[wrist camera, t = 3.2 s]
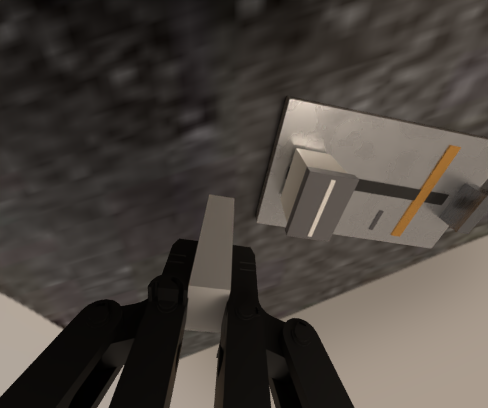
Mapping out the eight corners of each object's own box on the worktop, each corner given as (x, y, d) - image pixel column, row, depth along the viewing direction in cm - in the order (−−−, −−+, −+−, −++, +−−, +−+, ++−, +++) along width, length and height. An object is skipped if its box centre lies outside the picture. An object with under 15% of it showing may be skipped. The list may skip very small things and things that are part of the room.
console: (286, 95, 20) (296, 104, 16) (498, 139, 22) (544, 155, 18) (255, 214, 26) (257, 238, 22) (422, 239, 28) (446, 264, 25)
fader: (294, 145, 20) (310, 172, 15) (333, 152, 20) (360, 180, 16) (277, 200, 22) (286, 236, 18) (311, 205, 23) (329, 242, 18)
